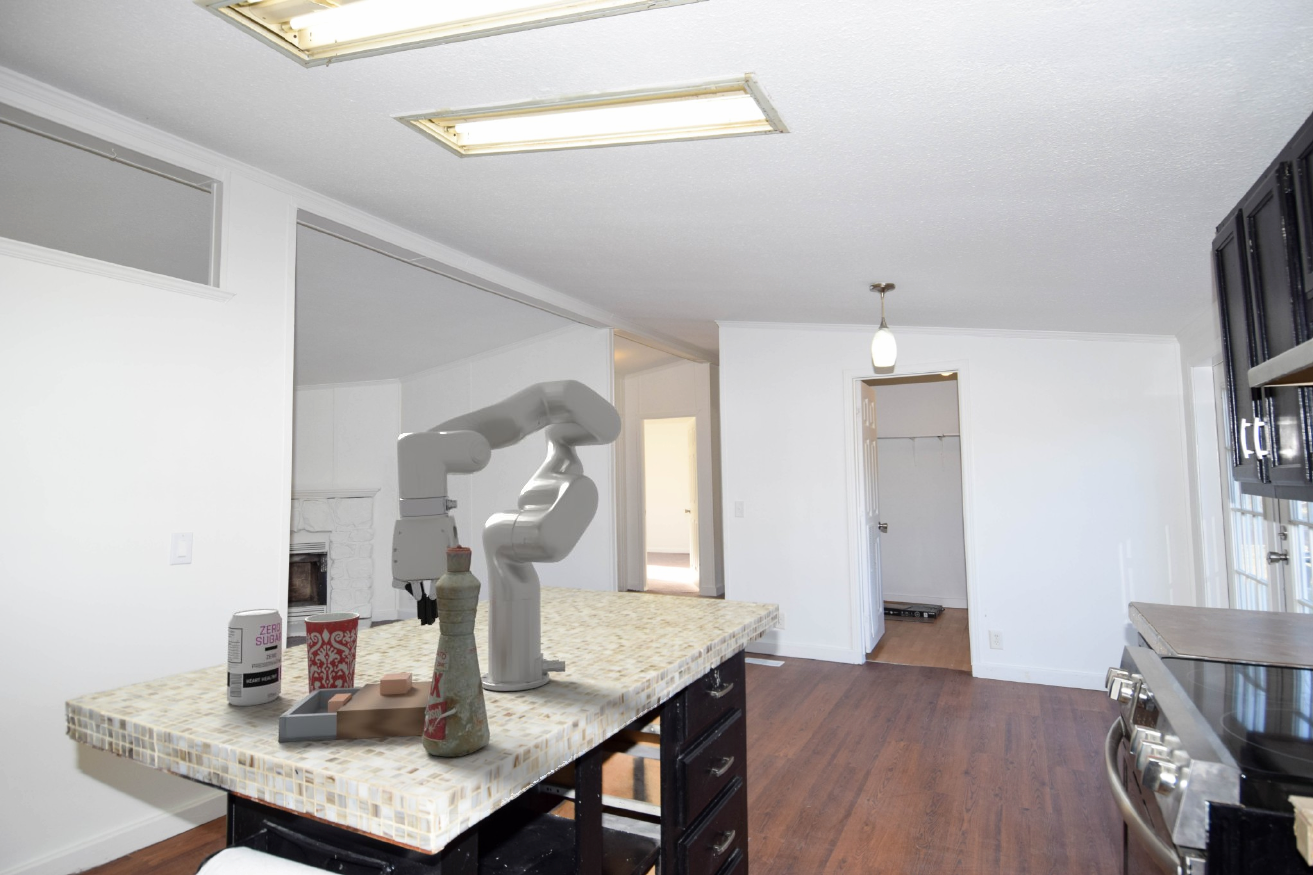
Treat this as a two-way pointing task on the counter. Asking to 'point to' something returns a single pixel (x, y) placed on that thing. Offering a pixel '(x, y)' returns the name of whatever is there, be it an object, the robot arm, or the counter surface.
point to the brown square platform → (383, 713)
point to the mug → (331, 650)
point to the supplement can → (254, 657)
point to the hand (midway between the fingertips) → (428, 623)
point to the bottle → (456, 666)
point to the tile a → (337, 702)
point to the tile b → (396, 683)
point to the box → (311, 717)
